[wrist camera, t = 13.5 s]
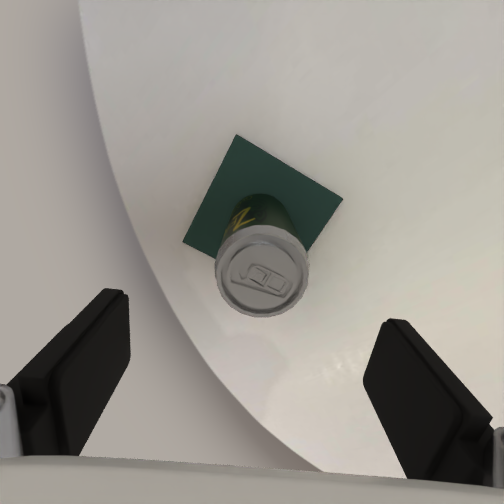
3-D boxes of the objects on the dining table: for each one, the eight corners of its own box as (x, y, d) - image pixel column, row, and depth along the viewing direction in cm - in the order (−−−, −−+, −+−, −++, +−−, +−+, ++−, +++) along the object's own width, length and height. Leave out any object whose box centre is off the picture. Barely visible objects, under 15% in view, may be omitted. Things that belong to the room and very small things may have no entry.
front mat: (183, 240, 27) (182, 242, 27) (236, 134, 24) (236, 134, 24) (279, 289, 29) (279, 292, 29) (341, 197, 26) (343, 198, 25)
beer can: (299, 208, 26) (332, 258, 14) (271, 257, 27) (281, 334, 16) (246, 181, 25) (239, 211, 14) (221, 233, 27) (195, 297, 15)
